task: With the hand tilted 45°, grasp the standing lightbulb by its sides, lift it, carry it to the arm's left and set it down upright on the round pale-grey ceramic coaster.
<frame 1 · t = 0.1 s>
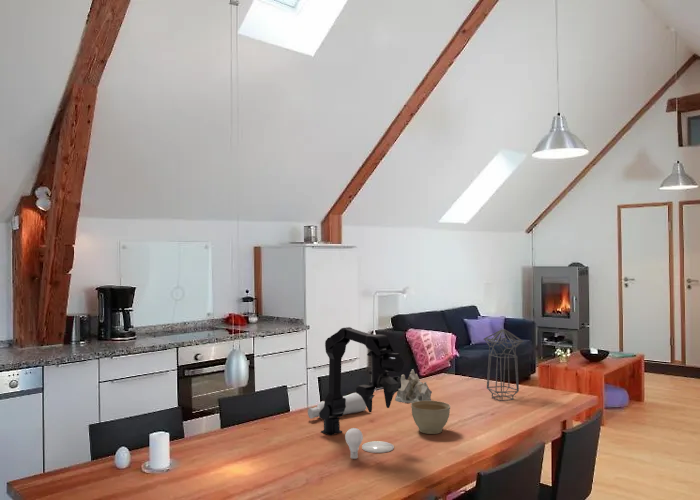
hand: (379, 409, 228), 15 cm above the table, tool pointing down, fingers open, 9 cm apart
geometric lantern: (503, 398, 305), on the table
planter bowl: (430, 431, 250), on the table
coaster: (377, 447, 229), on the table
bottle: (337, 416, 275), on the table
lightbulb: (354, 459, 217), on the table
ceramic cottage: (413, 401, 302), on the table
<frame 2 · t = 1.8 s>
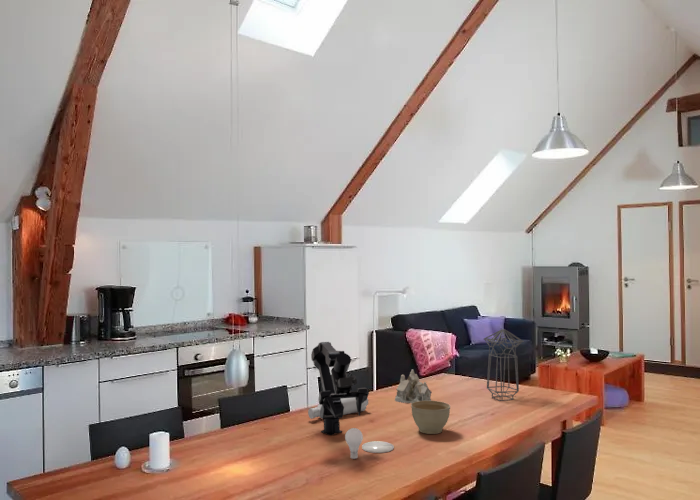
hand: (347, 416, 224), 13 cm above the table, tool tilted 45°, fingers open, 9 cm apart
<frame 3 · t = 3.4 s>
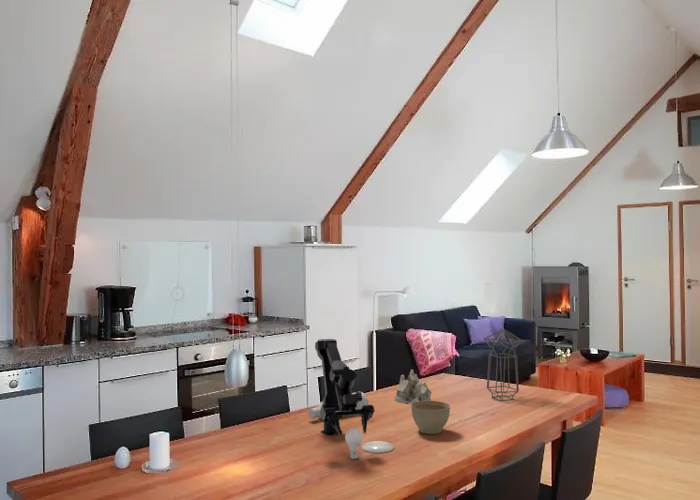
hand: (353, 434, 218), 9 cm above the table, tool tilted 45°, fingers open, 9 cm apart
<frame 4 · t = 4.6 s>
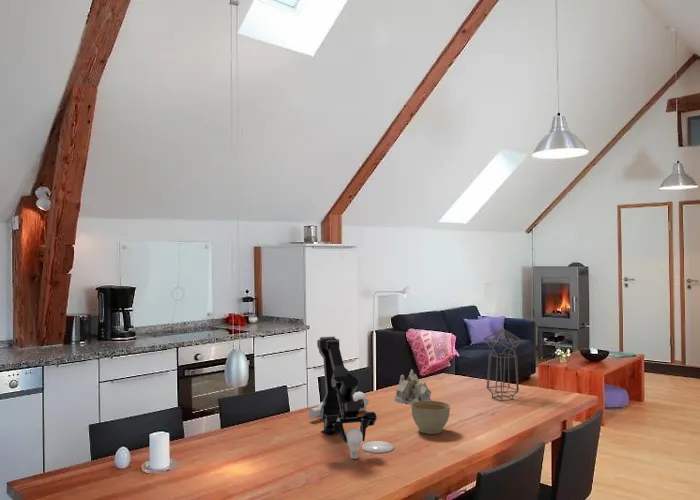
hand: (355, 441, 215), 7 cm above the table, tool tilted 45°, fingers closed on lightbulb, 6 cm apart
lightbulb: (354, 459, 217), on the table, touching gripper
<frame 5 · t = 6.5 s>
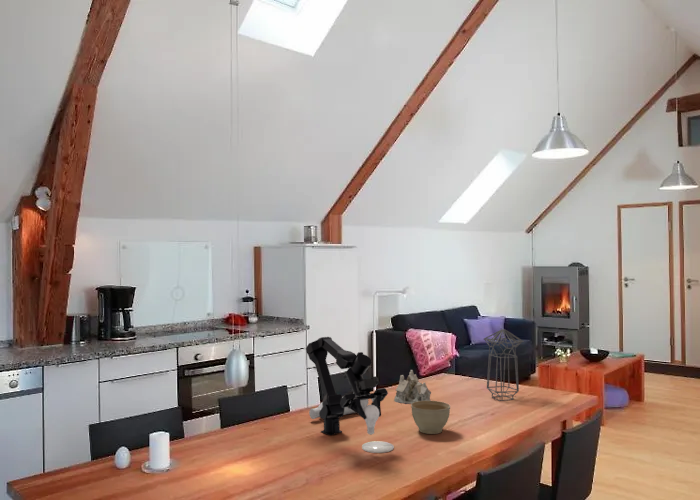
hand: (372, 417, 223), 13 cm above the table, tool tilted 45°, fingers closed on lightbulb, 6 cm apart
lightbulb: (370, 434, 224), point 6 cm above the table, touching gripper
when the fingers open (8 cm above the table, at t = 8.6 s): lightbulb stays where it is, resting on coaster.
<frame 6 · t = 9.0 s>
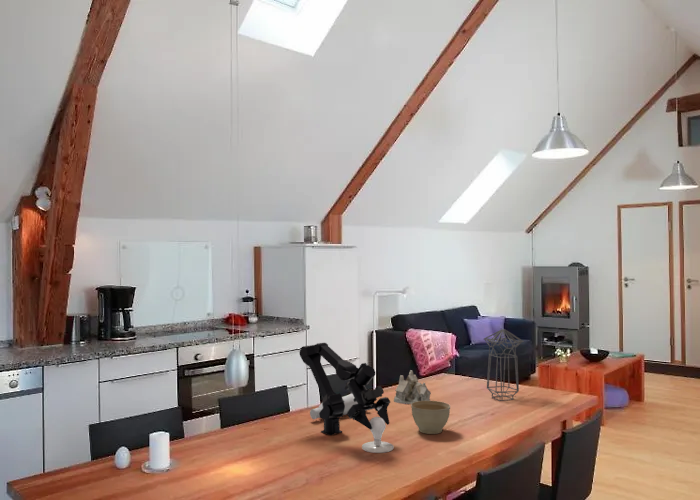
hand: (380, 426, 228), 8 cm above the table, tool tilted 45°, fingers open, 9 cm apart
lightbulb: (377, 446, 229), resting on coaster
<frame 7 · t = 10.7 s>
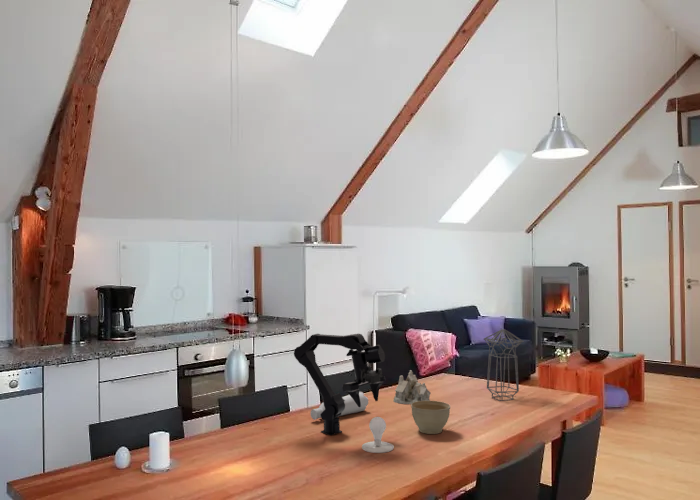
hand: (368, 404, 242), 13 cm above the table, tool pointing down, fingers open, 9 cm apart
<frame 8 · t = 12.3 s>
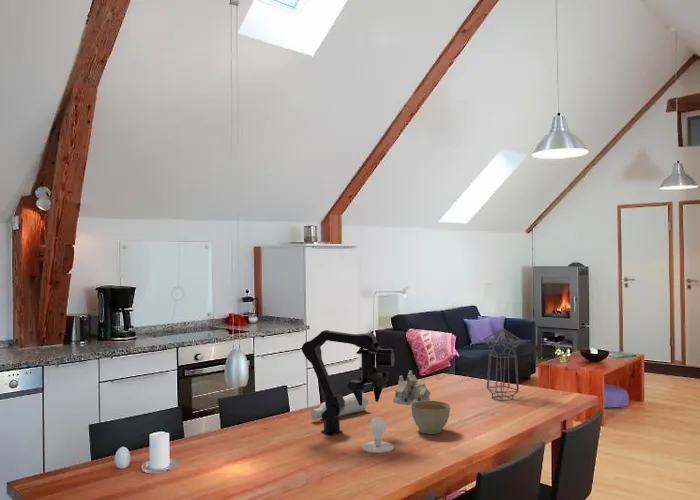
hand: (368, 403, 244), 13 cm above the table, tool pointing down, fingers open, 9 cm apart
at the end: lightbulb 0.1 cm from the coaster (horizontally); lightbulb tilted 0°; the gripper is holding nothing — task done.
